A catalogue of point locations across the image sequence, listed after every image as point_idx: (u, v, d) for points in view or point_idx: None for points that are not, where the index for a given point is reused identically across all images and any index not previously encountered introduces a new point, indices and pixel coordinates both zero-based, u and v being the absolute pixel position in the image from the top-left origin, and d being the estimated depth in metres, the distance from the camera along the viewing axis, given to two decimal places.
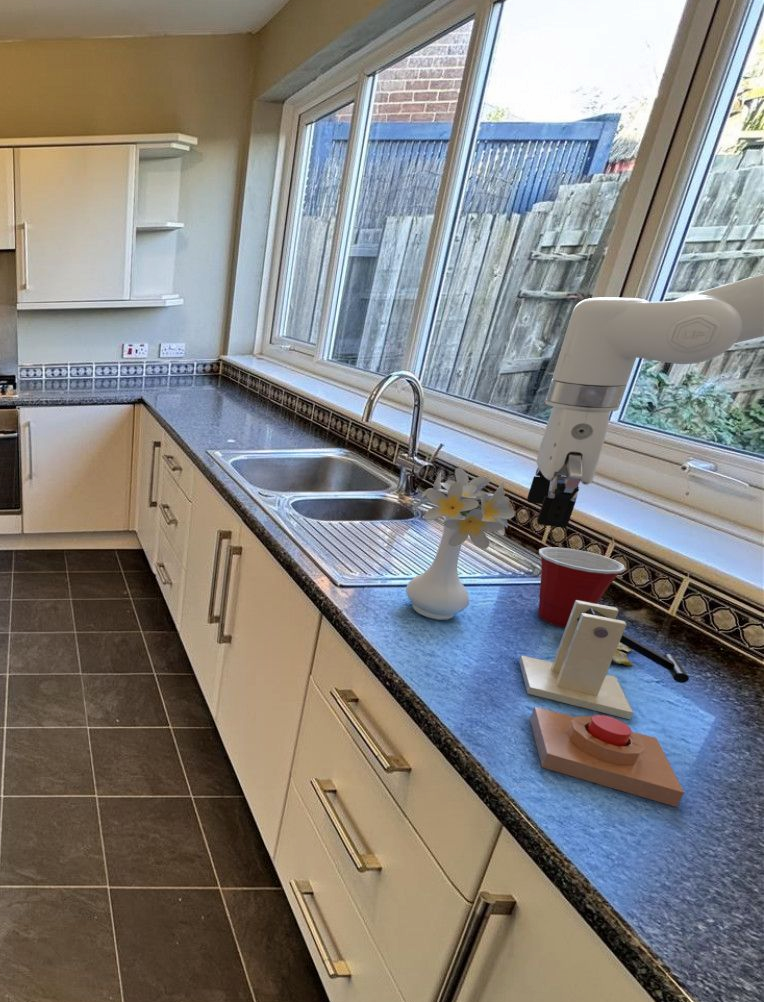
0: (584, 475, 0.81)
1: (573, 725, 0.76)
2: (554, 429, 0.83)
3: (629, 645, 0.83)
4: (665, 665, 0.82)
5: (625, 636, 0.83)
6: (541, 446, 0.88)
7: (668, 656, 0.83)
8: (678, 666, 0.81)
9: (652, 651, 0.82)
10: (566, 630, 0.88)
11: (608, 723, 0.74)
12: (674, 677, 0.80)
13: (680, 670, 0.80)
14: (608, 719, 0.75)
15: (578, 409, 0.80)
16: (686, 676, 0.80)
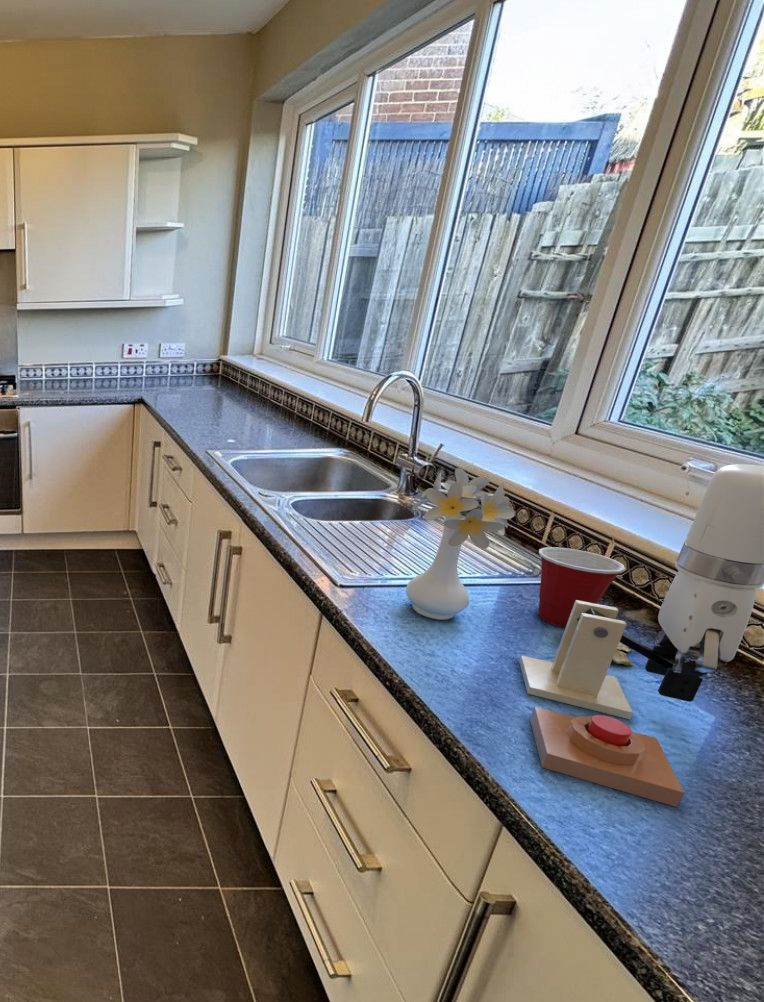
0: (724, 653, 0.75)
1: (573, 725, 0.76)
2: (688, 599, 0.77)
3: (629, 645, 0.83)
4: (665, 665, 0.82)
5: (625, 636, 0.83)
6: (666, 607, 0.82)
7: (668, 656, 0.83)
8: None
9: (652, 651, 0.82)
10: (566, 630, 0.88)
11: (608, 723, 0.74)
12: None
13: None
14: (608, 719, 0.75)
15: (719, 584, 0.74)
16: None
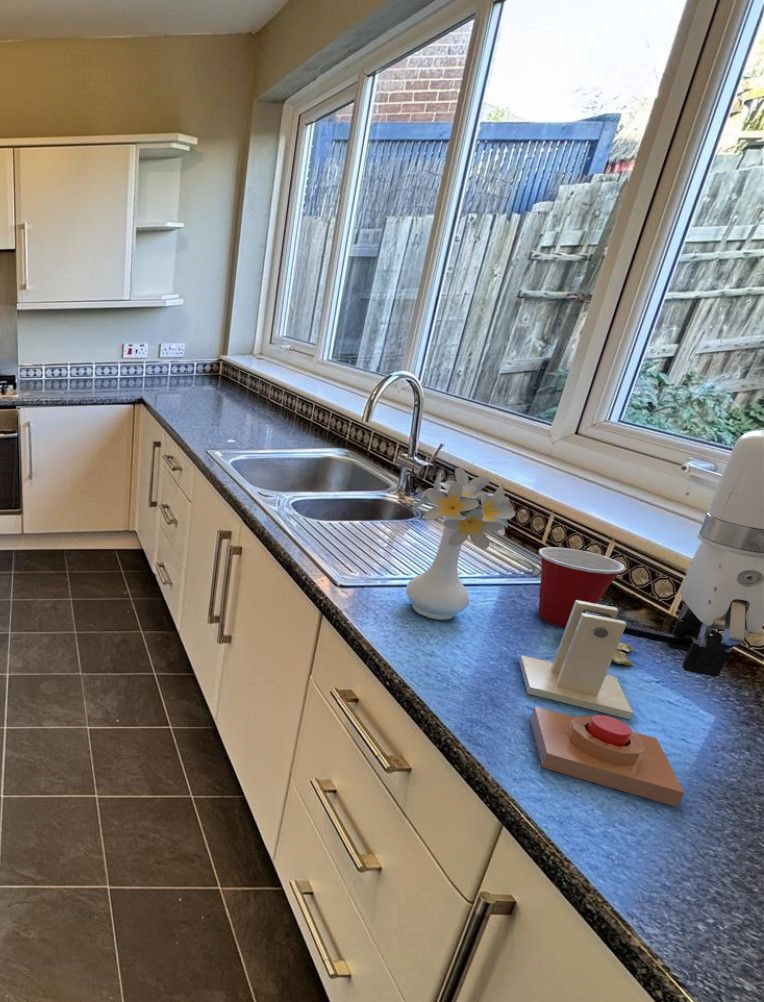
0: (751, 625, 0.73)
1: (573, 725, 0.76)
2: (712, 570, 0.75)
3: (639, 635, 0.82)
4: (684, 644, 0.80)
5: (630, 627, 0.83)
6: (689, 580, 0.80)
7: (686, 633, 0.82)
8: None
9: (664, 634, 0.81)
10: (566, 630, 0.88)
11: (608, 723, 0.74)
12: None
13: None
14: (608, 719, 0.75)
15: (745, 553, 0.72)
16: None
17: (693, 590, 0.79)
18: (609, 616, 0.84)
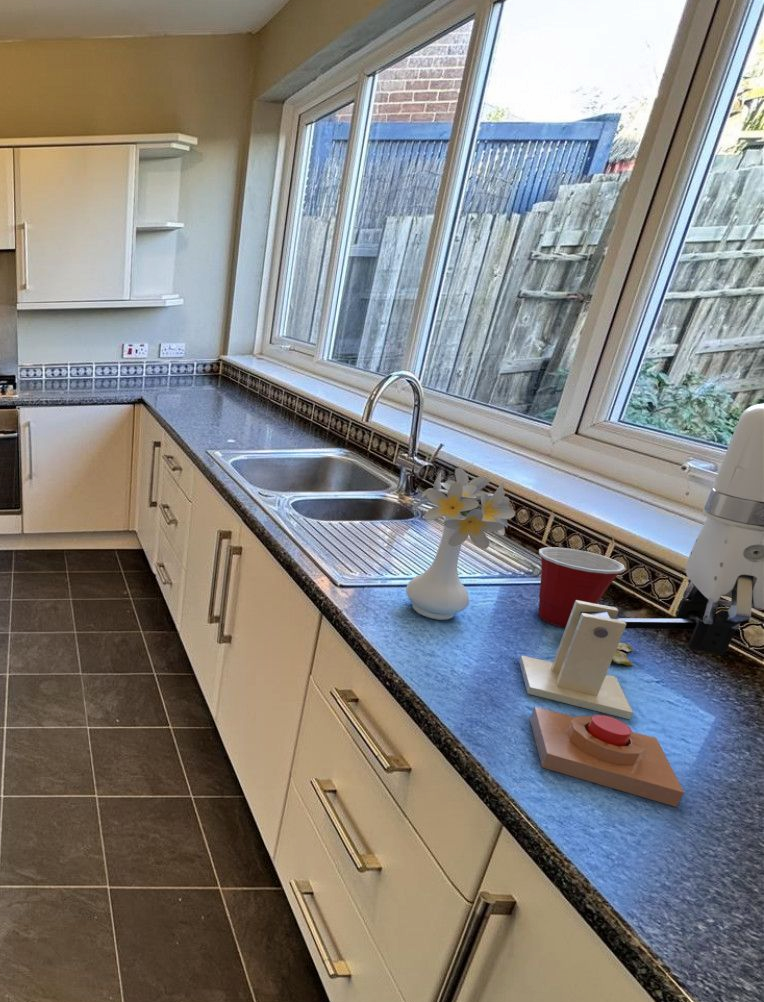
0: (758, 601, 0.72)
1: (573, 725, 0.76)
2: (718, 546, 0.74)
3: (641, 626, 0.82)
4: (689, 627, 0.79)
5: (630, 621, 0.83)
6: (694, 558, 0.79)
7: (689, 614, 0.81)
8: None
9: (666, 620, 0.81)
10: (566, 630, 0.88)
11: (608, 723, 0.74)
12: None
13: None
14: (608, 719, 0.75)
15: (751, 528, 0.71)
16: None
17: (699, 567, 0.78)
18: (606, 613, 0.84)
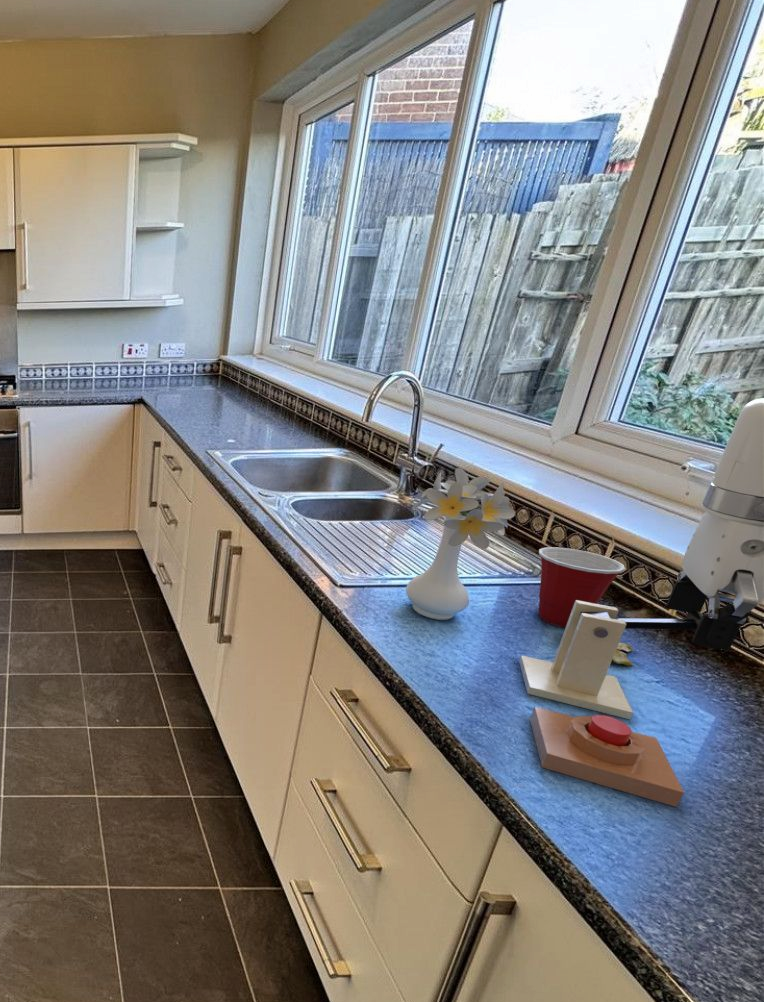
0: None
1: (573, 725, 0.76)
2: (715, 541, 0.74)
3: (641, 627, 0.82)
4: (689, 627, 0.79)
5: (630, 621, 0.83)
6: (691, 553, 0.79)
7: (689, 614, 0.81)
8: None
9: (666, 621, 0.81)
10: (566, 630, 0.88)
11: (608, 723, 0.74)
12: None
13: None
14: (608, 719, 0.75)
15: (749, 522, 0.71)
16: None
17: (695, 562, 0.78)
18: (606, 613, 0.84)
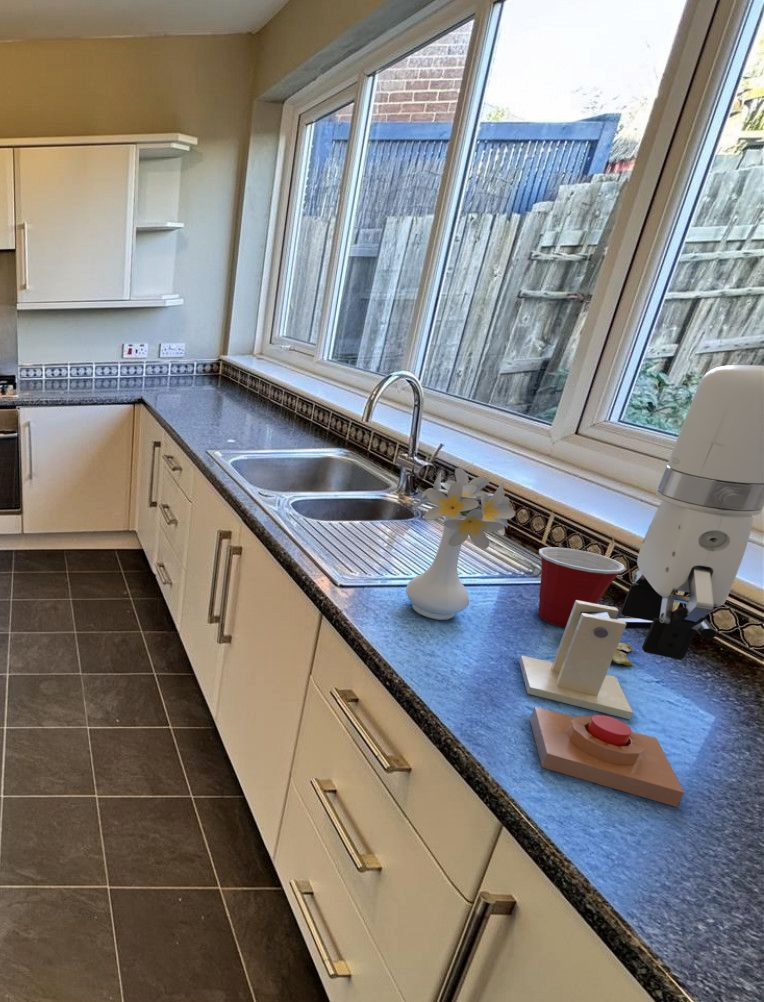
0: (714, 596, 0.62)
1: (573, 725, 0.76)
2: (671, 532, 0.64)
3: (641, 627, 0.82)
4: None
5: (630, 621, 0.83)
6: (646, 546, 0.69)
7: None
8: None
9: None
10: (566, 630, 0.88)
11: (608, 723, 0.74)
12: (702, 636, 0.78)
13: (702, 626, 0.78)
14: (608, 719, 0.75)
15: (708, 511, 0.61)
16: (710, 629, 0.77)
17: (650, 557, 0.67)
18: (606, 613, 0.84)
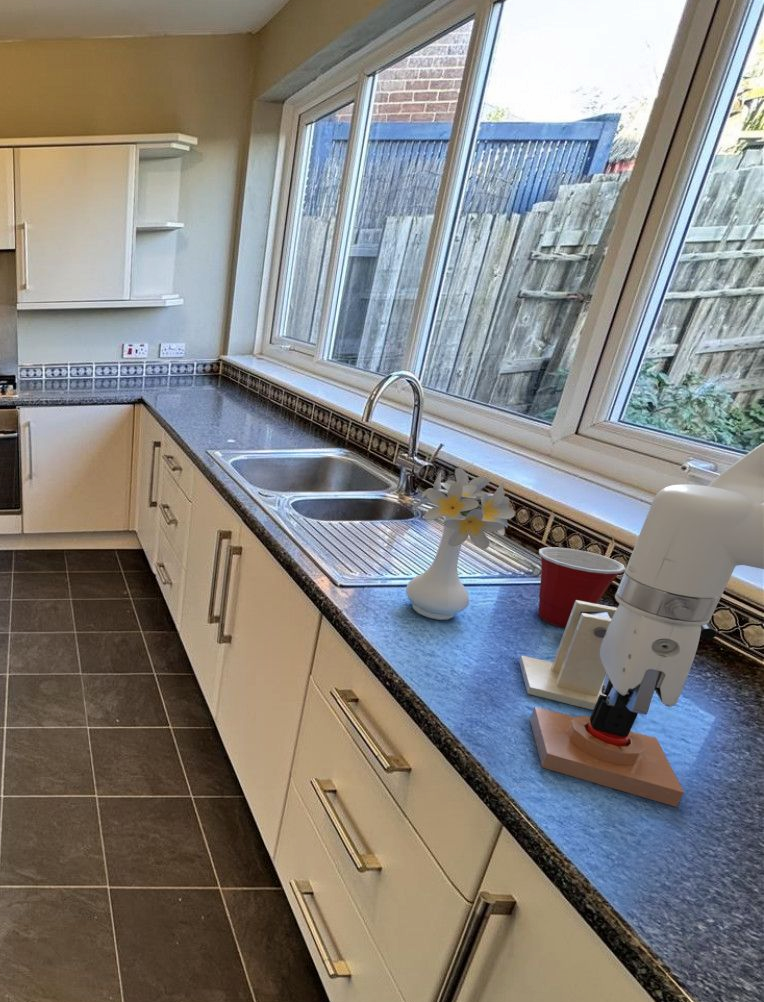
0: (666, 697, 0.66)
1: (573, 725, 0.76)
2: (628, 635, 0.69)
3: None
4: None
5: None
6: (607, 641, 0.74)
7: None
8: None
9: None
10: (566, 630, 0.88)
11: None
12: (702, 636, 0.78)
13: (702, 626, 0.78)
14: None
15: (661, 619, 0.66)
16: (710, 629, 0.77)
17: (610, 653, 0.72)
18: (606, 613, 0.84)
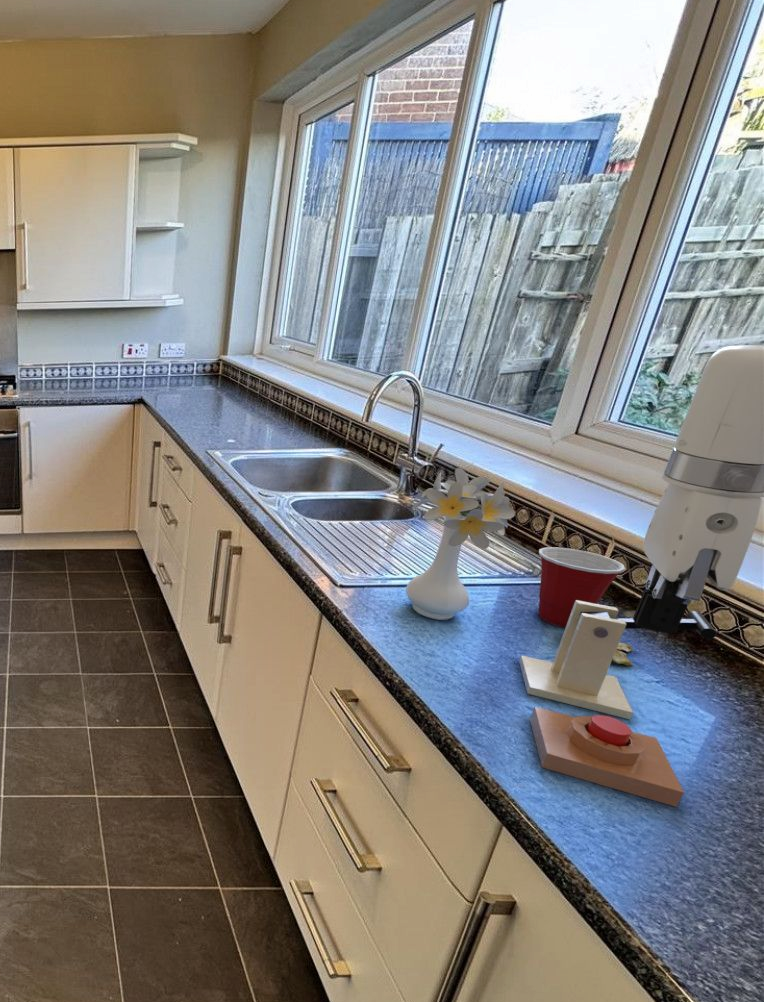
0: (722, 579, 0.61)
1: (573, 725, 0.76)
2: (678, 515, 0.63)
3: None
4: (689, 627, 0.79)
5: (630, 621, 0.83)
6: (652, 531, 0.68)
7: (689, 614, 0.81)
8: (699, 622, 0.79)
9: None
10: (566, 630, 0.88)
11: (608, 723, 0.74)
12: (702, 636, 0.78)
13: (702, 626, 0.78)
14: (608, 720, 0.75)
15: (716, 493, 0.60)
16: (710, 629, 0.77)
17: (656, 542, 0.67)
18: (606, 613, 0.84)
